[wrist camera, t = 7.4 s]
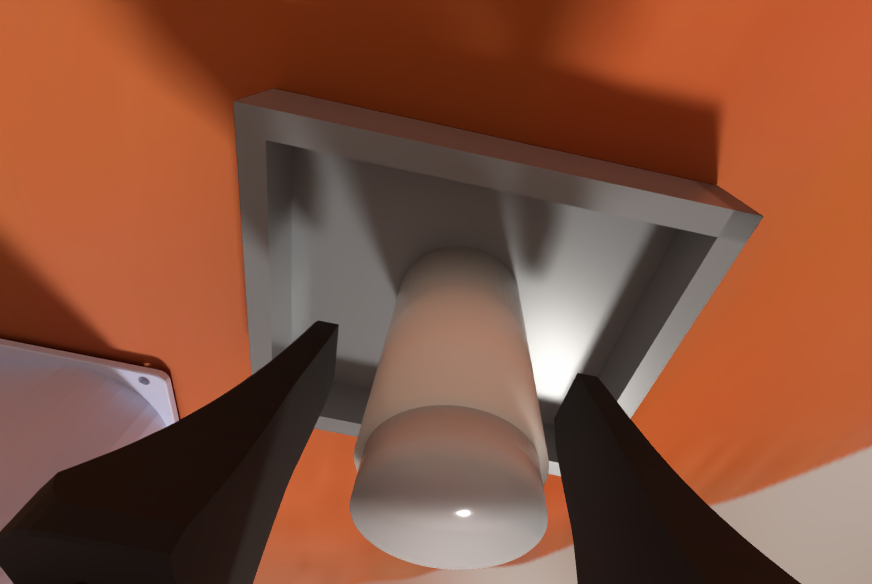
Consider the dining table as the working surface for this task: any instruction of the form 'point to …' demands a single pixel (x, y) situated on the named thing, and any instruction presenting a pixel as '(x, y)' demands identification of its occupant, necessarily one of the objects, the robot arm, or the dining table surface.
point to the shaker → (453, 421)
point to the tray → (469, 244)
